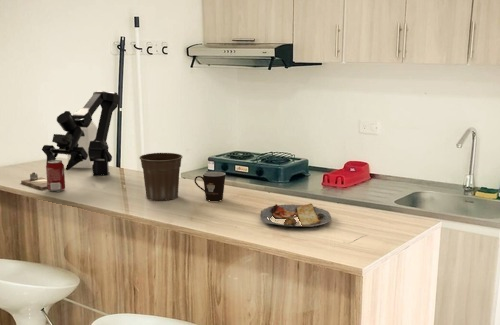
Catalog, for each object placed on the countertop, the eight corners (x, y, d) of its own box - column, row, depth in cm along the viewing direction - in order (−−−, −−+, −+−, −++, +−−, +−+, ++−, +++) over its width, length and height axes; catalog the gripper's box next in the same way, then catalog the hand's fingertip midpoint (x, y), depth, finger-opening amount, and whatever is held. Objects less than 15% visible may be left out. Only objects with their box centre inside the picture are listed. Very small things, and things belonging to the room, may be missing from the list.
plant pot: (170, 204, 206) (169, 161, 203) (132, 200, 211) (131, 158, 208) (190, 194, 221) (189, 154, 218) (154, 190, 226) (153, 151, 223)
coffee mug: (230, 199, 213) (230, 173, 211) (213, 203, 207) (213, 177, 205) (209, 194, 221) (209, 169, 219) (193, 198, 215) (192, 172, 213)
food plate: (260, 208, 200) (261, 199, 199) (326, 210, 199) (326, 201, 198) (259, 232, 175) (260, 221, 175) (334, 234, 175) (334, 223, 174)
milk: (67, 167, 273) (64, 114, 268) (78, 163, 284) (75, 112, 279) (90, 168, 271) (88, 114, 266) (100, 163, 282) (98, 112, 277)
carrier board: (21, 183, 238) (20, 173, 237) (41, 180, 244) (40, 170, 244) (42, 190, 226) (41, 179, 225) (62, 186, 232) (62, 176, 232)
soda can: (61, 192, 222) (60, 162, 220) (45, 192, 222) (43, 162, 220) (67, 188, 229) (66, 159, 227) (51, 188, 229) (49, 159, 227)
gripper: (43, 125, 230) (26, 156, 221) (82, 127, 224) (67, 158, 216) (56, 141, 239) (40, 171, 230) (94, 144, 233) (80, 174, 225)
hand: (56, 169), depth 225 cm, fingers open, 9 cm apart
